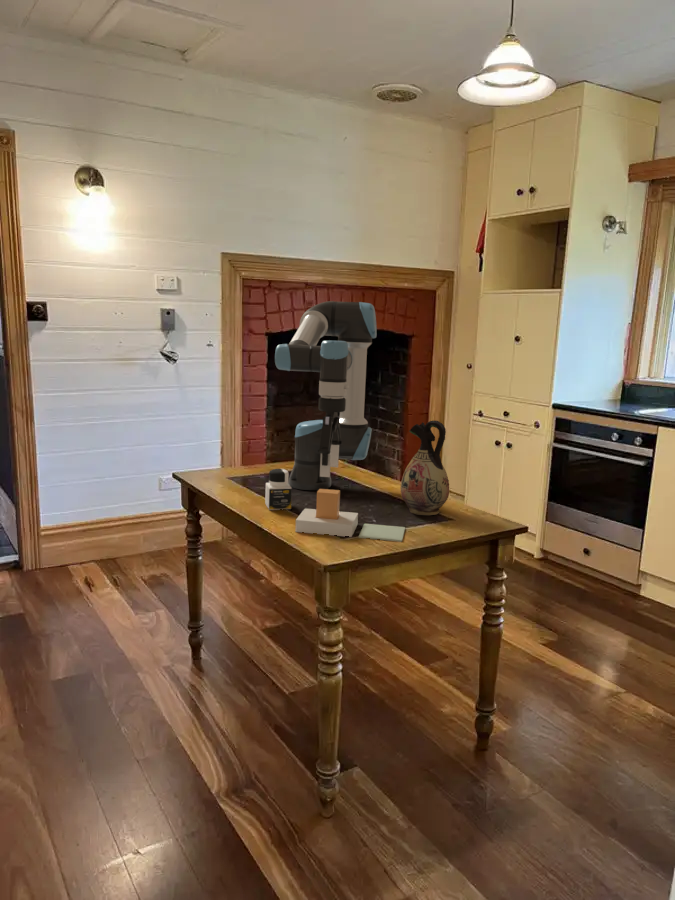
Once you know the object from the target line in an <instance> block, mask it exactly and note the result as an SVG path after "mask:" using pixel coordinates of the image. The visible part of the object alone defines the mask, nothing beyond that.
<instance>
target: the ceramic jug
mask: <svg viewBox="0 0 675 900" xmlns="http://www.w3.org/2000/svg"><path fill="white" fill-rule="evenodd" d="M432 428H436V429H437V430H438V435H439V436H438V439H437V443H436V446H435V449H434V448H433V447H434V446H433V443H432V442H435V441H436V436H435V434H434V433H433V431H432ZM408 432H409V433H410V434H412V435H414V436H416V437H417V438H419V440H420V446H419V448H418V450H417V452H416V453H415V454H414V456H413V457H412V458H411V460H410V461H409V463H408V464H407V466H406V468H405V470H404V472H403V473H402V477H401V482H400V495H401V498H402V500H403V501H404V503H405V505H407V508H409V512H410V513H411V514H414V515H417V516H433V515H434V516H435V515H438V514H439V513H440V509H441V508H442V506H443V505H445V503H447V500H448V498H449V495H450V480H449V478H448V477H449V476H448V474H447V471H446V469H445V467H444V465H443V463H442V459H441V458H442V457H441V456H440V455H441V451H442V449H443V445H444V443H445V440H446V433H447V430H446V426H445V425H444V423H442V422H441V421H439V420H430V421H427V422H426V423H425V422H421V423H420V424H418V423H416V424H414V425H413V426H412V427H411V428H410V429H409V431H408Z"/></svg>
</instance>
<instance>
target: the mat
mask: <svg viewBox="0 0 675 900" xmlns="http://www.w3.org/2000/svg"><path fill="white" fill-rule="evenodd" d="M405 531H406V527H405V526H396V525H384V524H373V523H364V524H363V526H362V529H361V530H360V532H359V535H358V539H366V538H370V539H369V540H377V539H380V540H379V541H389V542H391V541H392V542H398V543H402V542H403V539H404V535H405Z"/></svg>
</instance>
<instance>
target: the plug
mask: <svg viewBox="0 0 675 900" xmlns="http://www.w3.org/2000/svg"><path fill="white" fill-rule="evenodd" d="M340 501H341V490H339V489H329V488H327V489H319V490H316V518H324V519H335V520H338V518H339V511H340V503H341V502H340Z"/></svg>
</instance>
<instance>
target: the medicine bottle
mask: <svg viewBox="0 0 675 900" xmlns="http://www.w3.org/2000/svg"><path fill="white" fill-rule="evenodd" d="M289 473H290V472H289V471H288V470H286V469H285V468H272V469H271V470H270V471H269V472H268V482H265V491H264V493H265V499H264V503H265V505H266V507H267V509H268V511H280V509H282V510H283V509H286V510H291V509H292V495H293V494H292V493H293V487H291V486H290V485H289V476H290V475H289ZM282 510H281V511H282Z"/></svg>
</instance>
